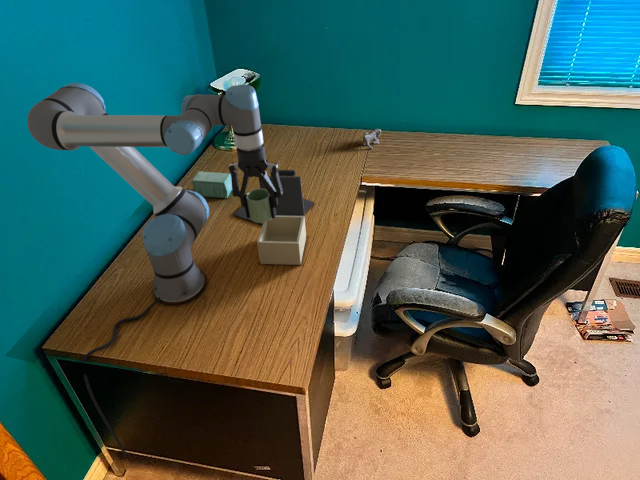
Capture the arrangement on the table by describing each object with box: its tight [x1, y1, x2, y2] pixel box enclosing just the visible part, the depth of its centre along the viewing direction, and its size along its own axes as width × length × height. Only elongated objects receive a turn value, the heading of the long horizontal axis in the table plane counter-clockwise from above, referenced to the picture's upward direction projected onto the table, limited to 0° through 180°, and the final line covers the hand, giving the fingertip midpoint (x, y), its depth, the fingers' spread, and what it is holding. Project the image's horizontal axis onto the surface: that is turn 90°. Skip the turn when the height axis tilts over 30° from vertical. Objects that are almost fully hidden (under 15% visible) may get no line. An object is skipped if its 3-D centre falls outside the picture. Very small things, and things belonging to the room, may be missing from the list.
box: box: [191, 170, 232, 199], centre depth 189 cm, size 7×14×8 cm, turn 79°
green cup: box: [245, 187, 272, 224], centre depth 141 cm, size 7×7×8 cm
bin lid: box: [258, 169, 306, 216], centre depth 157 cm, size 16×13×7 cm
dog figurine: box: [362, 128, 382, 150], centre depth 215 cm, size 12×6×7 cm, turn 138°
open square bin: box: [256, 215, 307, 266], centre depth 158 cm, size 15×13×9 cm
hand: (261, 215), depth 143 cm, fingers closed on green cup, 7 cm apart
